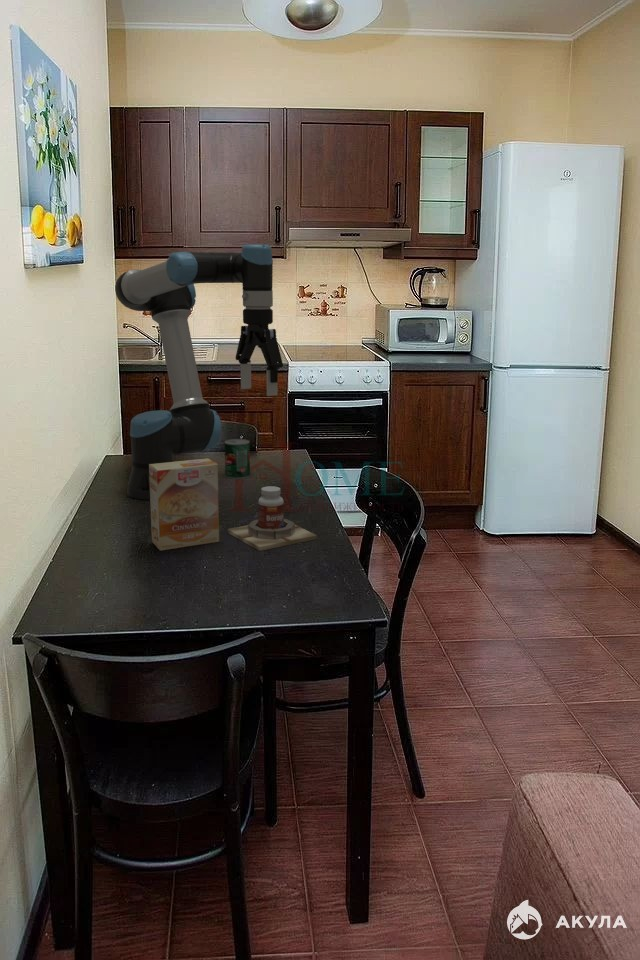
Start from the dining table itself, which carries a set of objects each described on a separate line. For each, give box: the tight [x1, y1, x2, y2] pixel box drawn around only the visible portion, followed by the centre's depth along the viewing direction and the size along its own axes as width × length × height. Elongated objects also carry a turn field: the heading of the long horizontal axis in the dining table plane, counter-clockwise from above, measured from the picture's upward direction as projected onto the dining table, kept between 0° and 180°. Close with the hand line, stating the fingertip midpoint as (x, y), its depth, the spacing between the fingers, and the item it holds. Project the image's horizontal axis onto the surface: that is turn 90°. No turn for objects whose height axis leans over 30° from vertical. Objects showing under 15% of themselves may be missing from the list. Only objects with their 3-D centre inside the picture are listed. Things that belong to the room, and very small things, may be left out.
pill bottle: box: [257, 485, 285, 529], centre depth 207 cm, size 6×6×11 cm
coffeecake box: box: [149, 458, 220, 551], centre depth 201 cm, size 15×7×20 cm, turn 117°
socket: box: [227, 518, 318, 552], centre depth 208 cm, size 16×16×3 cm
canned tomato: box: [223, 438, 251, 480], centre depth 264 cm, size 8×8×11 cm
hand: (258, 392), depth 218 cm, fingers open, 13 cm apart
